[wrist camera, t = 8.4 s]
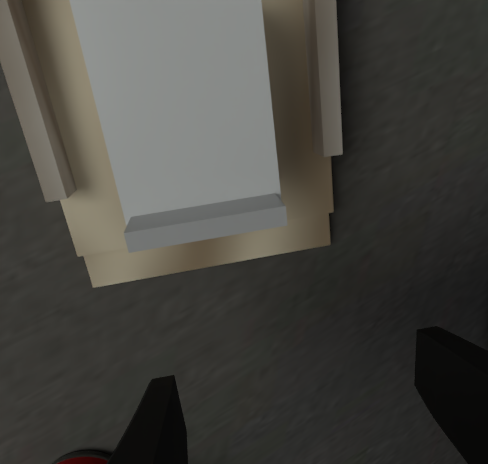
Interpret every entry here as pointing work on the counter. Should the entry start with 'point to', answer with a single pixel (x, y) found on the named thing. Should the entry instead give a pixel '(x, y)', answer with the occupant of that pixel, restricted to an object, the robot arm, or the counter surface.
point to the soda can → (84, 458)
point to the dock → (96, 155)
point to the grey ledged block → (184, 116)
